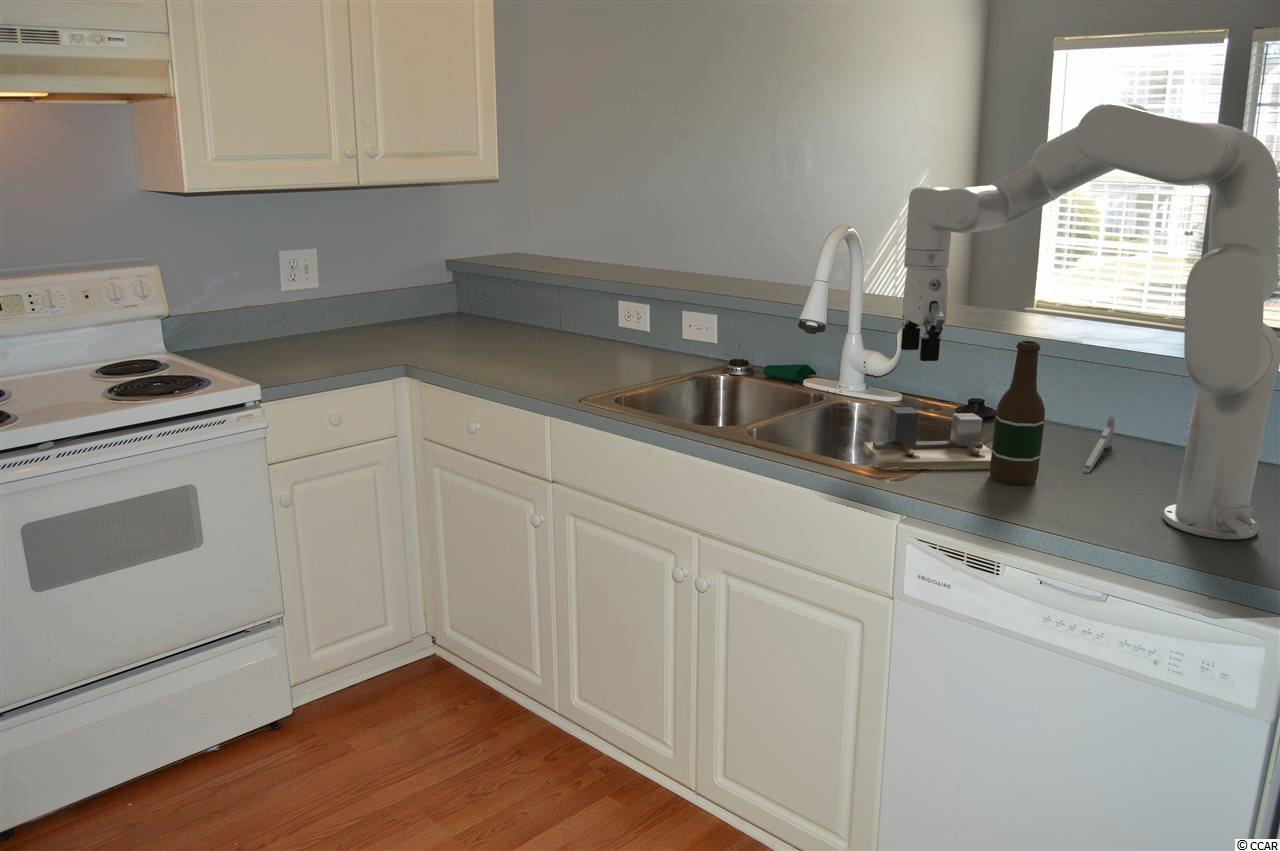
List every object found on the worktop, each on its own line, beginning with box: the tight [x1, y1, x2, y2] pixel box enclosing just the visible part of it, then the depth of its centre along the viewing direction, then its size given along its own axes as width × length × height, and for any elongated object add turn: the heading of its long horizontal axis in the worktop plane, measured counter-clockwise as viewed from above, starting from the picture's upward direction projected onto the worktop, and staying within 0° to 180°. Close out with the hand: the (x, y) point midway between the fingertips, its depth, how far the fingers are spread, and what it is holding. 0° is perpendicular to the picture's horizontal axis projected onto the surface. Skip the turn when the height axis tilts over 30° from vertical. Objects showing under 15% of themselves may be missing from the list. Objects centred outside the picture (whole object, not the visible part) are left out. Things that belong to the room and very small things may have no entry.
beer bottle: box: [989, 340, 1046, 487], centre depth 169 cm, size 8×8×24 cm
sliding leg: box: [887, 406, 920, 456], centre depth 181 cm, size 8×4×7 cm, turn 4°
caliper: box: [1082, 416, 1116, 474], centre depth 183 cm, size 20×1×6 cm, turn 145°
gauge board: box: [862, 412, 992, 471], centre depth 182 cm, size 12×22×7 cm, turn 94°
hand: (919, 355), depth 180 cm, fingers open, 9 cm apart
